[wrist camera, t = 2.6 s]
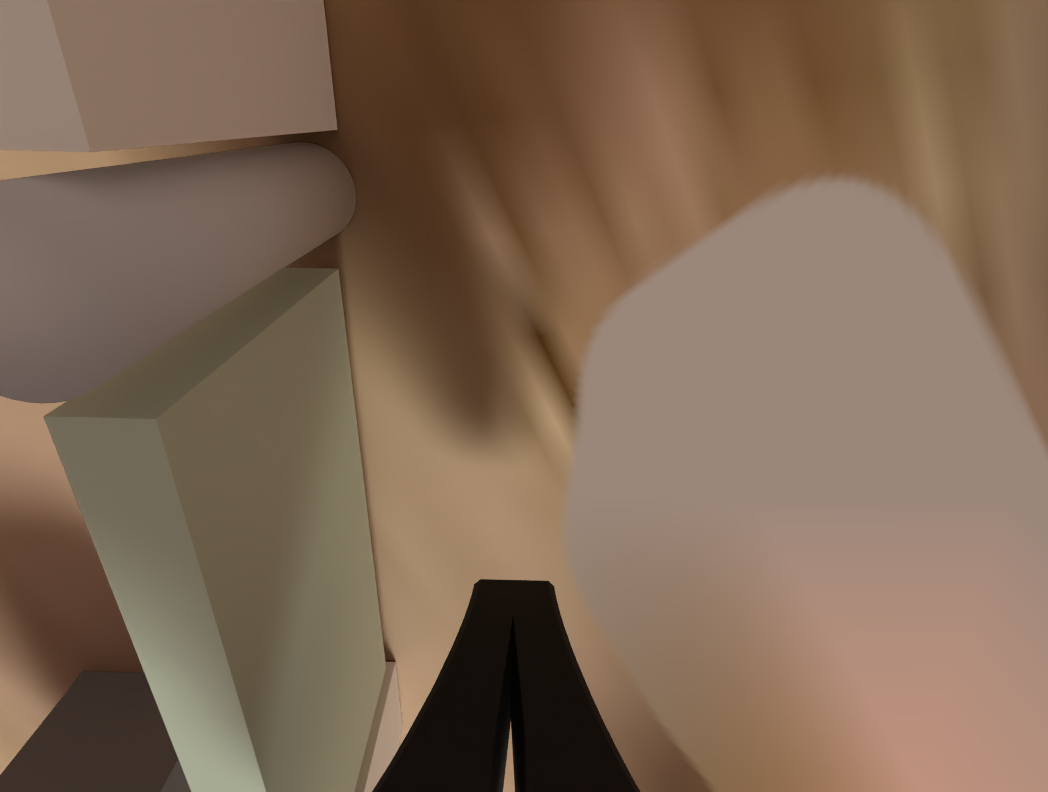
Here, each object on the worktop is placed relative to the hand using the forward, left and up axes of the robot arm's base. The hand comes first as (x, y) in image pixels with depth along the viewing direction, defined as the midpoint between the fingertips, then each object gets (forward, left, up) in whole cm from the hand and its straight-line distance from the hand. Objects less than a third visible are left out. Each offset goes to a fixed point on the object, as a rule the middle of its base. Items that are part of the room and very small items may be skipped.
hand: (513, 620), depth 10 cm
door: (-4, +1, -2) cm, 5 cm away
